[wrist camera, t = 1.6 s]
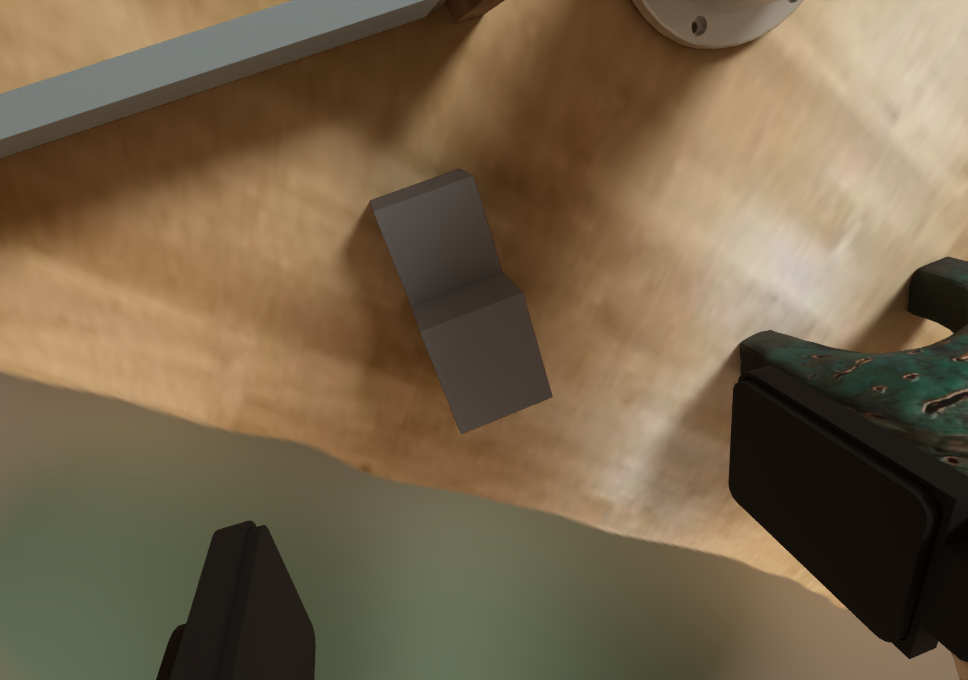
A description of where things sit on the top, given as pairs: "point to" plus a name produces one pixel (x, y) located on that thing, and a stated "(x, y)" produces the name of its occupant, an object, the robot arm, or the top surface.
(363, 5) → the grey long flat board
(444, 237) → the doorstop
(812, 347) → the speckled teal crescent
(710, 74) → the top surface
